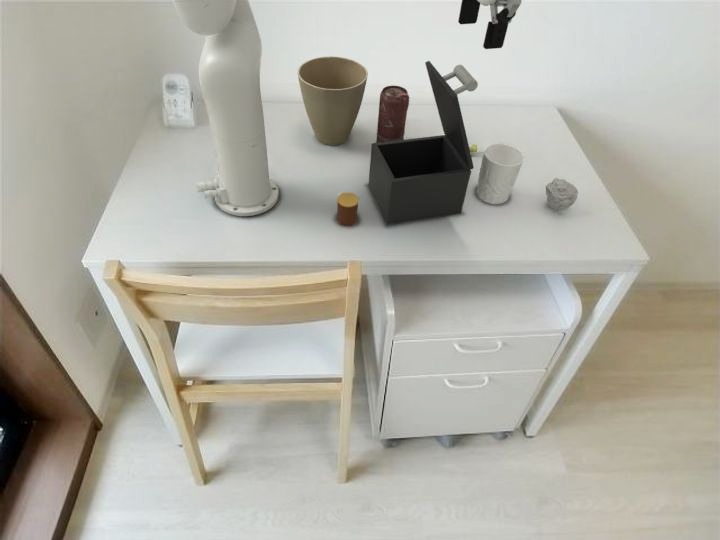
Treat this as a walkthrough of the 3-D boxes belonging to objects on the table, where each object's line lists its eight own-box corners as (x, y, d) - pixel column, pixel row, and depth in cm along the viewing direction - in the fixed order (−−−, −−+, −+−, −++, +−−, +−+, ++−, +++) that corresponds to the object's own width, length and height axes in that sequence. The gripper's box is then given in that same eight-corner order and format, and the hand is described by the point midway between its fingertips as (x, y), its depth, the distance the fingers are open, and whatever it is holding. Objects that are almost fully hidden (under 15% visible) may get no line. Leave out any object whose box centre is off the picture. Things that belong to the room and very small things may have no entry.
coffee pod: (339, 227, 100) (340, 207, 96) (334, 213, 103) (334, 193, 99) (360, 224, 101) (361, 204, 97) (354, 211, 104) (355, 191, 100)
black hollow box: (386, 225, 101) (391, 181, 94) (368, 185, 110) (371, 143, 102) (460, 213, 105) (471, 171, 97) (437, 176, 113) (445, 134, 106)
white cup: (465, 191, 110) (475, 151, 103) (489, 178, 114) (501, 138, 106) (494, 211, 106) (507, 170, 99) (518, 197, 110) (532, 156, 102)
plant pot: (291, 126, 124) (288, 61, 113) (349, 116, 129) (351, 52, 117) (312, 160, 115) (311, 93, 103) (373, 148, 119) (379, 83, 108)
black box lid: (452, 97, 84) (484, 81, 84) (424, 62, 93) (453, 48, 92) (470, 170, 97) (497, 157, 97) (444, 133, 105) (469, 121, 105)
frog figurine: (532, 200, 109) (543, 173, 104) (562, 197, 110) (573, 169, 105) (546, 219, 105) (558, 192, 100) (577, 215, 106) (590, 188, 101)
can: (401, 157, 117) (408, 100, 107) (373, 153, 118) (378, 95, 108) (405, 143, 122) (412, 86, 111) (378, 139, 122) (383, 82, 112)
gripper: (456, -104, 77) (438, 16, 90) (510, -72, 66) (481, 60, 78) (501, -104, 79) (477, 13, 91) (561, -73, 68) (525, 56, 80)
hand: (479, 35), depth 85 cm, fingers open, 9 cm apart
